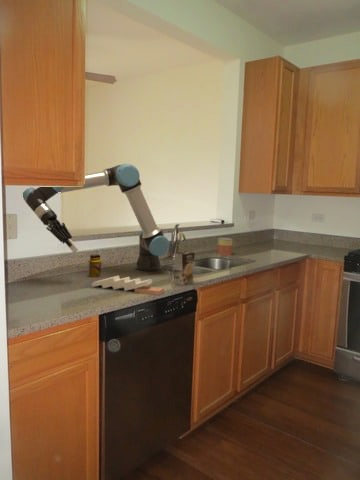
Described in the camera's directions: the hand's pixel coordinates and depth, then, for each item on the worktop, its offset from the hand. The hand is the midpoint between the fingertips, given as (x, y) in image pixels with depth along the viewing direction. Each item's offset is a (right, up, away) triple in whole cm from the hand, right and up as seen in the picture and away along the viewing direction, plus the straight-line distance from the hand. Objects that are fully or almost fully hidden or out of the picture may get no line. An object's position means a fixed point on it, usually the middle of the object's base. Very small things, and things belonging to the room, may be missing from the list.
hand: (76, 250), depth 193 cm
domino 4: (+25, -17, -6) cm, 31 cm away
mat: (+19, -18, -3) cm, 26 cm away
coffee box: (+52, -17, +13) cm, 57 cm away
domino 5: (+31, -18, -8) cm, 36 cm away
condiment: (+4, -15, +19) cm, 25 cm away
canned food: (+84, -6, +107) cm, 136 cm away
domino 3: (+20, -17, -4) cm, 26 cm away
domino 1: (+10, -16, -1) cm, 19 cm away
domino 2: (+15, -16, -3) cm, 22 cm away
